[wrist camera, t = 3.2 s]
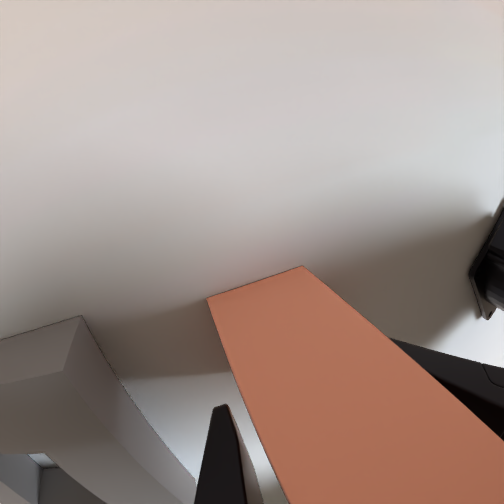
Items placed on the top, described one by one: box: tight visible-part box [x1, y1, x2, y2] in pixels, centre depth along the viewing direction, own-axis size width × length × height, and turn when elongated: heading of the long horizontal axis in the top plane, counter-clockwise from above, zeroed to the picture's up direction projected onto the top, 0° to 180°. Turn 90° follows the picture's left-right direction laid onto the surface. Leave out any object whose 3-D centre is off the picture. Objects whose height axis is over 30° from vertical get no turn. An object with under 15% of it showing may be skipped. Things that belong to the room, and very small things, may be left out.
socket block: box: [0, 315, 197, 504], centre depth 9 cm, size 12×12×3 cm
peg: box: [206, 266, 504, 504], centre depth 7 cm, size 4×4×10 cm
